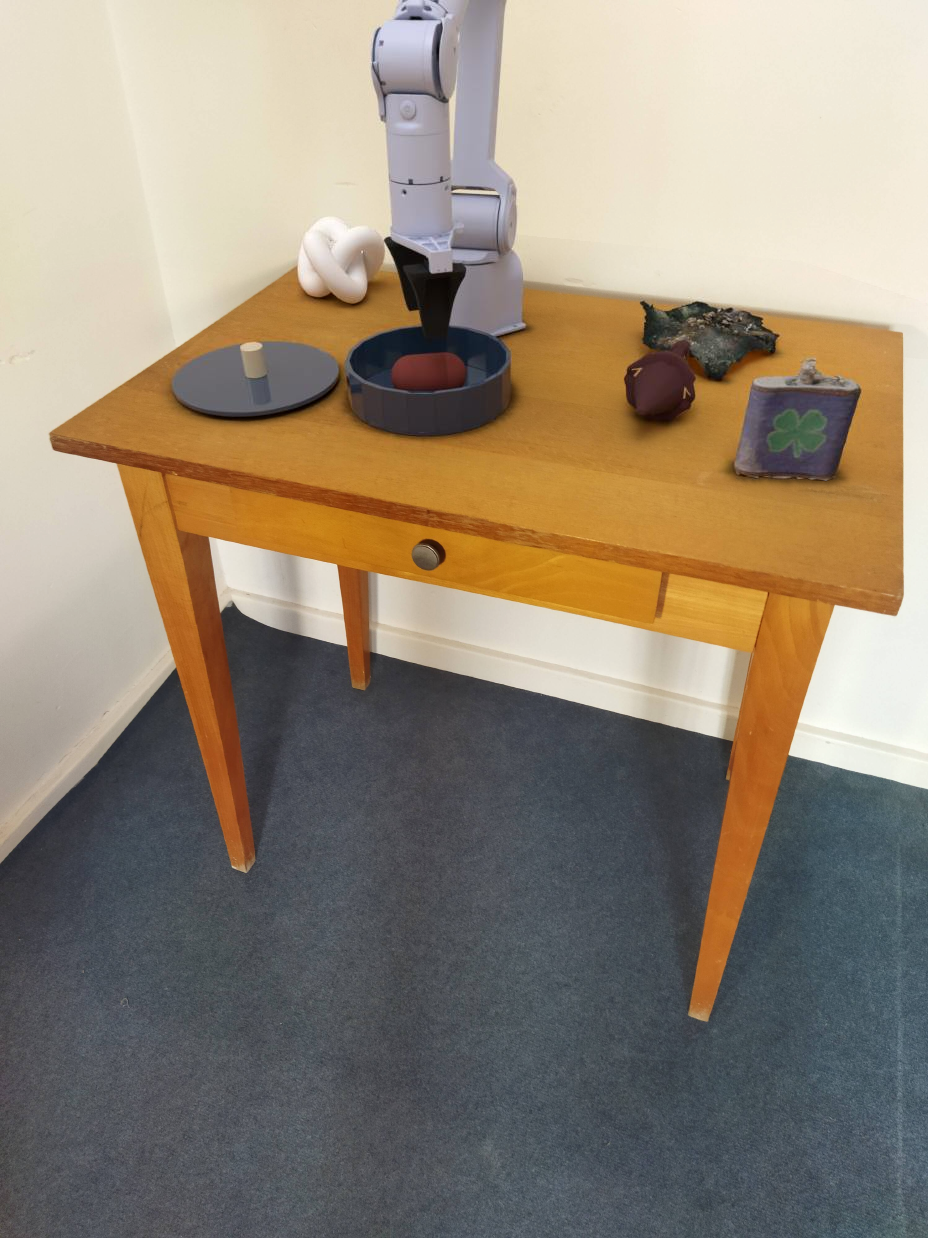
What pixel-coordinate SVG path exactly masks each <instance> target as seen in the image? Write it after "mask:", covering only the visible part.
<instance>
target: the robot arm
mask: <svg viewBox="0 0 928 1238" xmlns="http://www.w3.org/2000/svg"><path fill="white" fill-rule="evenodd" d="M506 6H507V0H398V1H397V5H396V6H395V7H396V8H395V10H394V13H393V16H392V18H391V19H387V20H384V22H383V23H382V25H381V26H377V27H376V28H375V30H374V31H373V34H372V38H371V45H370V64H369V65H370V75H371V78H372V85H373V88H374V91H375V94H376V98H377V107H378V116H379V118H380V121H381V122H383V123H384V125H385V140H386V141H385V142H386V156H387V158H386V159H387V171H388V172H387V173H388V186H389V200H390V214H391V215H390V216H391V226H390V228H389V233H390V236H386V237H385V238H384V239H383V241H384V245H385V246H386V248H387V249H388V251H389V254H390V256H391V258H392V260H393V262H394V266H395V269H396V271H397V275H398V279H399V283H400V286H401V292H402V295H403V299H404V302H405V306H406V308H407V310H408V312H415V311H418V314H419V319H420V325H422V329H423V332H424V335H425V337H426V339H434V338H442V337H446V336H447V332H448V328H449V325H453V326H460V327H468V328H472V329H476V330H479V331H482V332H486V333H489V334H491V335H492V336H494V337H496V338H497V337H499V336H502V335H506V334H510V333H513V332H517V331H521V330H524V329H526V328H527V324H526V323H525V322H523V303H524V302H523V300H524V271H523V266H522V262H521V260H520V258H519V255H518V254H517V253H516V252H515V250H513V247H514V246H515V245H514V244H515V240H516V235H517V226H518V225H517V224H518V208H517V193H518V192H517V191H518V190H517V187H516V183H515V181H514V179H513V178H512V176H510V175H509V174H508V172H506V171H505V170H504V169H503V168H502V167H501V166H500V165H499V164H498V163H497V162H496V160H495V155H496V142H497V128H498V113H499V98H500V85H501V84H500V83H501V69H502V57H503V56H502V54H503V41H504V40H503V38H504V28H505V27H504V26H505V12H506ZM454 92H455V104H454V105H455V107H454V125H453V143H452V145H453V146H452V157H451V125H450V124H451V123H450V122H451V121H450V115H451V114H450V99H452V97H453V95H454ZM451 158H452V159H451ZM457 190H463V191H464V190H465V191H483V192H484V191H485V192H486V191H487V192H496V193H497V194H488V193H468V192H455V191H457ZM453 191H454V192H453Z"/></svg>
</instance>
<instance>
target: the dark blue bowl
mask: <svg viewBox="0 0 928 1238" xmlns="http://www.w3.org/2000/svg"><path fill="white" fill-rule="evenodd" d="M429 353H452V354H454V355H456V356H458V357H459V358H460V359H461V360H462V361H463V363H464V365H465V368H466V374H467V376H466V381H465V383H464V385H463V387H462V388H456V389H448V390H441V391H404V390H398V389H395V388H394V387H393V384H392V381H391V371H392V368H393V366H394V364H395V363H396V362H397V361H398V360H399V359H400V358H402V357H404V356H407V355H415V354H429ZM344 369H345V379H346V387H347V396H348V401H349V406H350V408H351V411H352V412H353V413H354V415H355V417H357V418H358V420H360V421H362V422H363V423H365V424H367V425H369V426H371V427H373V428H376V429H378V430H381V431H384V432H388V433H393V434H399V435H404V436H405V435H406V436H416V437H417V436H418V437H430V436H431V437H432V436H444V435H445V436H446V435H453V434H459V433H462V432H467V431H470V430H474V429H477V428H480V427H482V426H485V425H487V424H489V423H491V422H493V421H494V420H495V419H497V418H498V417H500V416H501V415H502V414H503V413H504V412H505V410H507V408H508V406H509V404H510V400H511V376H512V375H511V374H512V373H511V372H512V371H511V370H512V352H511V349H509V347H508V346H507V344H506V343H505V342H504V341H503V340H502V339H499V338H498V337H497V336H496V337H494V336H492V335H491V334H489V333H486V332H482V331H479V330H476V329H472V328H468V327H460V326H453V325H449V328H448V332H447V336H446V337H442V338H434V339H426V337H425V335H424V332H423V329H422V325H421V324H417V325H416V324H415V325H408V326H399V327H394V328H391V329H387V330H383V331H380V332H376V333H374V334H371V335H370V336H367V337H366V338H363V339H361V340H359V341H358V342H357V343H356V344H354V345H353V346H352V347H351V348H350V349H349V350H348V352H347V354H346V357H345V359H344Z"/></svg>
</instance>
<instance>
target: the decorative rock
mask: <svg viewBox="0 0 928 1238" xmlns="http://www.w3.org/2000/svg"><path fill="white" fill-rule="evenodd" d="M639 304H640V305H641V307H642V310H644V312H645V315H643V316H644V320H645V321H644V322H643V336H642V339H641V340H642V344H643V345H645V346H646V347H648V349H650V350H654V351H656V350H657V351H660V352H661V351H669V350H670V349H671V347H672V346H673V345H674V344H675V343H676V342H677V341H681V340H686V341H688V342H690V344H691V347H690V351H689V353H688V354H689V358H692V359H695V360H696V361H697V362H698V363H699V365H700V366H701V368H702V370H703V372H704V374H705V376H706V378H707V380H715V381H719V382H722V381H723V379H724V376H726V374H727V373H728V371H729V369H730V368H731V366H732V365H733V364H735V363H737V364H739V363H741V362H742V361H743V360H744V357H745V356H747V355H748V354H749V352H750V353H751V352H753V351H761V352H762V351H764V350H765V351H767V352H769V354H771V355H773V354H775V352H776V350H777V347H776V346H777V342H776V341H777V340H778V338H780V334H778V333H775V332H773V331H772V330H771V329H769V328H767V327H765V326H763V325H764V322H763V320H764V318H763V317H761V316H757V315H754V314H752V313H751V312H750V311H746V310H735V309H734V308H733V307H728V308H725V309H724V308H723V307H721V308H718V307H716V306H715V307H714V306H710V305H709V304H708V303H707V302H703V301H699V300H696V301H693V302H692V303H688V304H685V305H681V306H678V307H675V308H672V309H670V310H662V309H660V308H656V307H654V304H653V303H651V304H649V303H648V302H646V300H642V301H640V302H639Z"/></svg>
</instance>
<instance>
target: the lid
mask: <svg viewBox="0 0 928 1238" xmlns="http://www.w3.org/2000/svg"><path fill="white" fill-rule="evenodd" d="M339 376H340V367H339V364H338V361H337V360H336V359H335V358H334V357H333V356H332V355H331V354H330V353H328V352H327V351H325V350H323V349H321V348H319V347H316V346H313V345H310V344H305V343H299V342H292V341H282V340H281V341H280V340H279V341H278V340H266V341H249V342H244V343H238V344H233V345H228V346H224V347H221V348H217V349H213V350H211V351H208V352H206V353H203V354H200V355H199V356H197V357H195V358H193V359H191V360H189V361H188V362H187V363H185V364H183V366H181V367H180V368H179V369H178V370H177V371H176V372H175V373H174V375H173V376H172V377H173V378H172V380H171V389H172V393H173V395H174V397H175V398H176V399H177V401H178V402H179V403H181V404H182V405H184V406H185V407H187V408H189V409H191V410H194V411H197V412H200V413H204V414H208V415H213V416H221V417H235V418H236V417H256V416H257V417H258V416H264V415H271V414H277V413H281V412H285V411H290V410H293V409H297V408H299V407H302V406H305V405H307V404H309V403H311V402H314V401H315V400H318V399H319V398H321V397H323V396H324V395H325V394H327V393H328V392H329V391H331V389H332V388H334V386H335V385H336V383H337V382H338V380H339Z"/></svg>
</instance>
